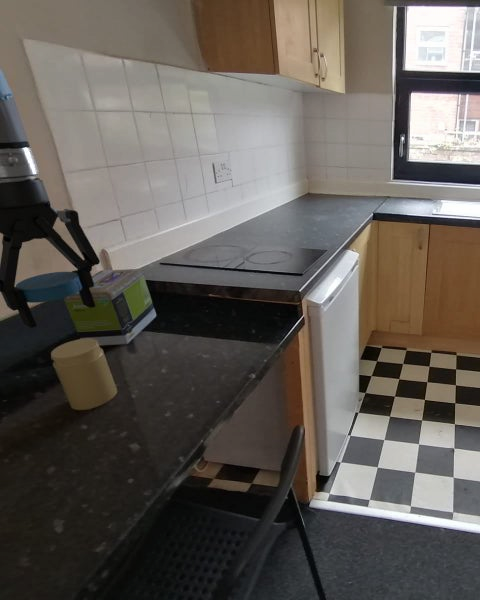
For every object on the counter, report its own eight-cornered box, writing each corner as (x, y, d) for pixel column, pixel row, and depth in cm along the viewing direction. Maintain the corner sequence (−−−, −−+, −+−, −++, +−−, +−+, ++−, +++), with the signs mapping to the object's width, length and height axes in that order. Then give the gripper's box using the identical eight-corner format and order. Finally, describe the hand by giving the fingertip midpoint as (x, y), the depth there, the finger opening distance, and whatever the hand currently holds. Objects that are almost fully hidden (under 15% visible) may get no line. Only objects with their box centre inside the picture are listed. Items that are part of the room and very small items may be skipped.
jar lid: (91, 281, 72) (87, 269, 71) (69, 300, 65) (64, 286, 64) (38, 286, 70) (33, 273, 69) (9, 305, 63) (3, 291, 62)
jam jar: (62, 413, 72) (39, 361, 68) (80, 389, 79) (60, 340, 74) (109, 406, 74) (89, 355, 70) (123, 383, 81) (106, 335, 76)
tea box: (119, 322, 105) (101, 268, 99) (159, 320, 106) (144, 267, 100) (83, 352, 91) (59, 292, 85) (129, 350, 92) (109, 290, 86)
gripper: (-85, 190, 50) (-9, 347, 59) (98, 172, 67) (135, 298, 76) (-103, 186, 53) (-28, 335, 63) (75, 170, 70) (113, 290, 79)
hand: (61, 314), depth 69 cm, fingers closed on jar lid, 8 cm apart
